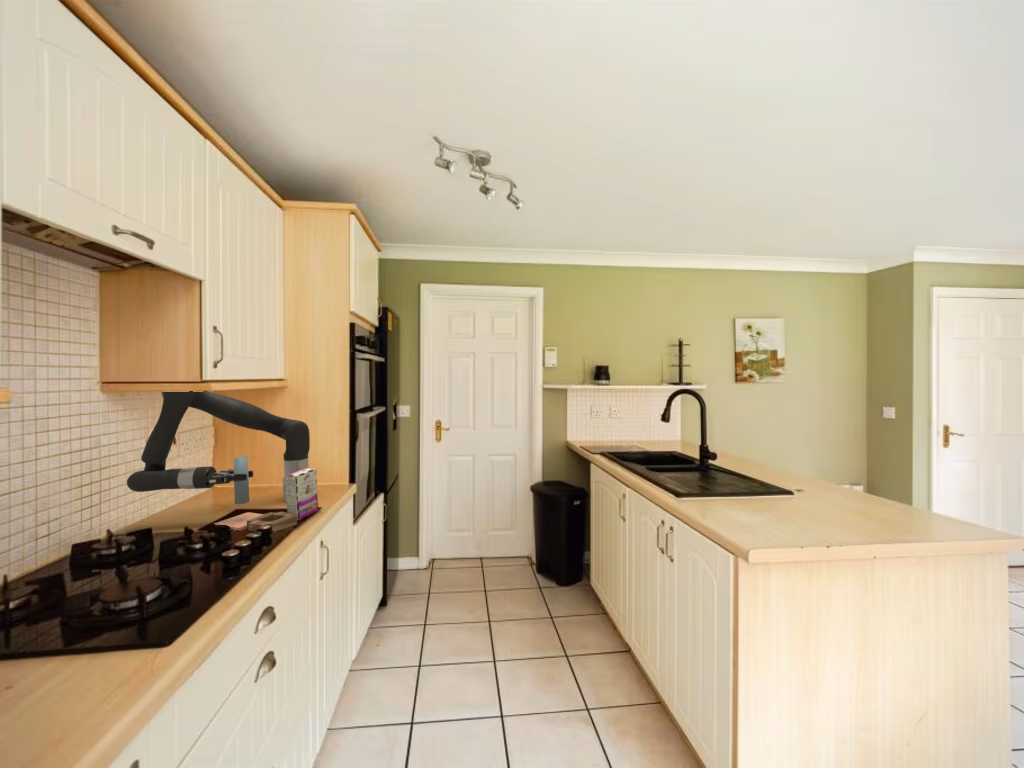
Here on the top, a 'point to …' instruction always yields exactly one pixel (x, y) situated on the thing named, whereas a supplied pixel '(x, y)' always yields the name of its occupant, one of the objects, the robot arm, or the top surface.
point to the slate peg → (241, 486)
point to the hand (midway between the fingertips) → (249, 475)
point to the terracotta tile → (238, 521)
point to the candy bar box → (302, 493)
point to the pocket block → (273, 521)
